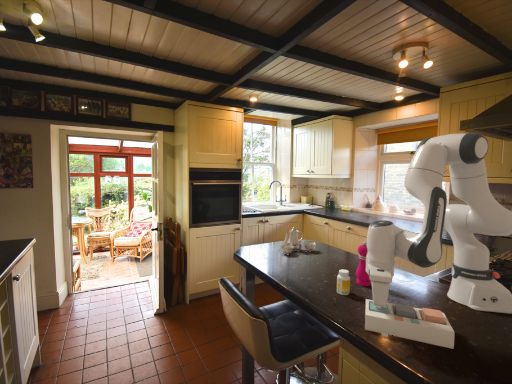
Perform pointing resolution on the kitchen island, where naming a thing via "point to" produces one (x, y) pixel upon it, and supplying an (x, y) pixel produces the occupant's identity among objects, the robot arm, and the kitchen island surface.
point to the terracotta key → (433, 316)
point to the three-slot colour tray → (409, 326)
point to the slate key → (404, 310)
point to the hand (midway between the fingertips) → (378, 307)
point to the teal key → (382, 310)
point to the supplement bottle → (343, 282)
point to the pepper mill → (362, 267)
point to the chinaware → (295, 243)
